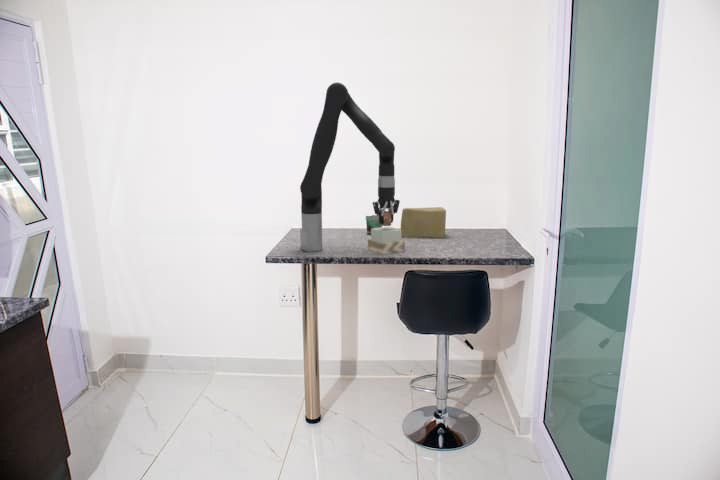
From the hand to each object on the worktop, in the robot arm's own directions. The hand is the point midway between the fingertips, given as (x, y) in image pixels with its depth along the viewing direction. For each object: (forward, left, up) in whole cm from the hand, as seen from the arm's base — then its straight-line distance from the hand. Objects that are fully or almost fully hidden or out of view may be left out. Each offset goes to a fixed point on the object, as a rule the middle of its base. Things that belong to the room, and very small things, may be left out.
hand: (386, 223), depth 231 cm
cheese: (+32, +12, -13) cm, 36 cm away
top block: (0, 0, -8) cm, 8 cm away
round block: (0, 0, -1) cm, 1 cm away
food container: (+17, +31, -13) cm, 38 cm away
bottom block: (0, -1, -13) cm, 13 cm away
